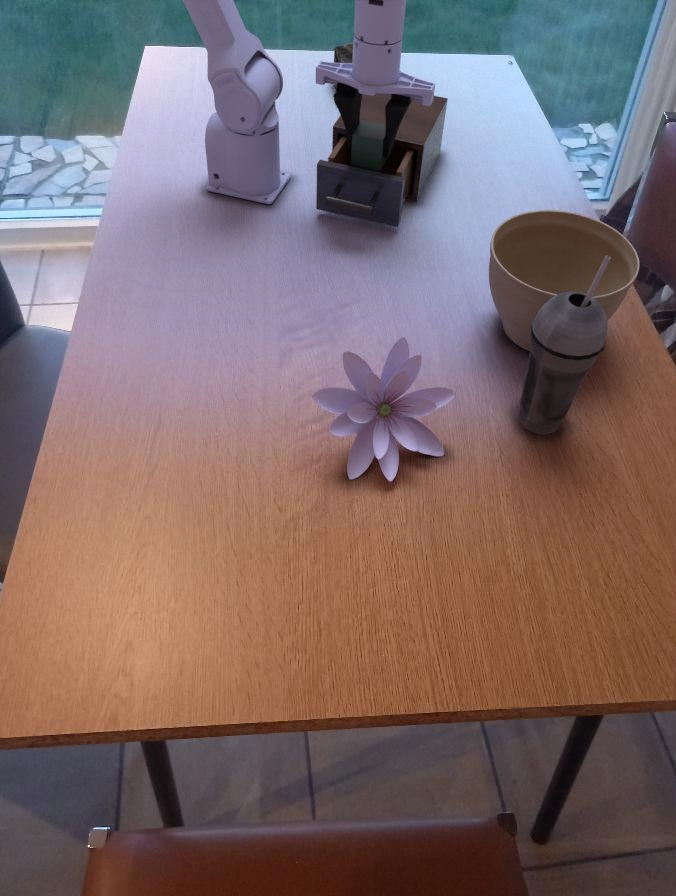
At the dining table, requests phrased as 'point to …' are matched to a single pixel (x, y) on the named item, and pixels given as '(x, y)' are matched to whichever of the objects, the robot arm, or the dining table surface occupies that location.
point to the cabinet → (407, 132)
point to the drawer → (365, 185)
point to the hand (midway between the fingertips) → (370, 150)
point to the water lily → (383, 410)
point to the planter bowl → (555, 265)
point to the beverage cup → (561, 355)
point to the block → (368, 146)
